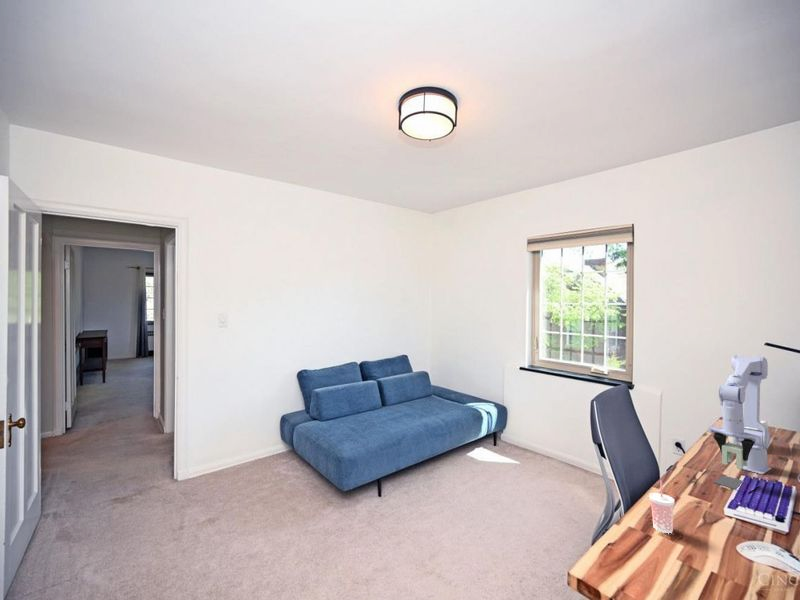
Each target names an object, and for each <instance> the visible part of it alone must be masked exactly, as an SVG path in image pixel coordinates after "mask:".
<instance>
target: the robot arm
mask: <svg viewBox="0 0 800 600" xmlns="http://www.w3.org/2000/svg"><path fill="white" fill-rule="evenodd" d="M731 367H732V369H733V371H734V372H733V374H730V375H729V376H728V377H727V380H726V382H725V384H723V385H721V386H719V387H718V397H719V403H720V406H721V415H722V427H718V426H711V425H710V426H708V427H707V432H708V433H710V434H711V433H713V435H712V437H713V438H714V440H715V442H716V443H717V445H718V447H719V450H720V453H721V455H722V445H724V444H726V443H727V437H729V436H731V437H734V439H735V441H736V442H738V445H739V446H742V448H743V460H744V461H747V466H743V469H742V470H745V471H747V472H748V471H749V472H753V473H756V474H758V475H759V474H760V475H765V474H766V473H767V472H769V471H770V470H772V467H770V466H769V464H768V463H769V462H768V461H769V460H768V451H767V449H768V448H769V447H770V445H771V434H770V429H769V427H768V428H767V427H766V426H765V425H763V424H762V423H761V422H760V421H761V420H760V412H761V411H760V410H761V409H760V405H761V403H760V401H761V384H762V383H761V382H762V381H763V380H766V379H767V377H768V369H769V368H768V359H767V358H766V357H764V356H745V355H736V354H735V355H733V356H732V357H731ZM743 418H744V419H743ZM744 427H750V428H756V429H760V430H761V431H759V430H754V429H748V428H744ZM735 466H736V465H735ZM736 468H737V466H736Z"/></svg>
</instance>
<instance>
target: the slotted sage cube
mask: <svg viewBox="0 0 800 600" xmlns="http://www.w3.org/2000/svg"><path fill="white" fill-rule="evenodd" d="M734 454H736V455H735V456H736V461H735V462H736V465H735V466H737V467H736V468H737V469H739V470H744V469H743V466H747V461H744V460H743V448H742V446H740V445H735V444H731V443H729V442H726V444H724V445H722V454H721V464H722V465H725V466H727V465H729V463H733V459H734V458H733V457H734Z"/></svg>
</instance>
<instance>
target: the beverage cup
mask: <svg viewBox="0 0 800 600" xmlns="http://www.w3.org/2000/svg"><path fill="white" fill-rule="evenodd" d="M659 486H660V487H659V488H660V489H659V490H660V492H650V493H649V494H648V495H649V497H648V498H649V501H650V506H651V508H650V509H651V516H652V525H653V529H654V528H655V529H656V530H655V529H654V530H655V531H657V530H658V531H660V532H659V533H661V532H662V533H661V534H664V533H668V534H667V535H670V534H669V533H671V534H673V533H672V532H674V531H673V529H674V505H675V503H676V502H675V499H674V498H673V497H671V496H670V495H668V494H664V493H663V480H662V479H659ZM658 531H657V532H658Z"/></svg>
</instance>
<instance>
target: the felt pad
mask: <svg viewBox="0 0 800 600" xmlns="http://www.w3.org/2000/svg"><path fill="white" fill-rule="evenodd" d="M744 481H745V480H741V479H738V478H734V477H731V476H728V475H722V476H720V477H719V478H717V479H715V480H714V481H713V482H712V483H713V484H715V485H719V486H722V487H725V488H728V489H733V490H736V489H737V488H738V487H739V486H740V484H741V483H742V482H744ZM736 491H737V490H736Z"/></svg>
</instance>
